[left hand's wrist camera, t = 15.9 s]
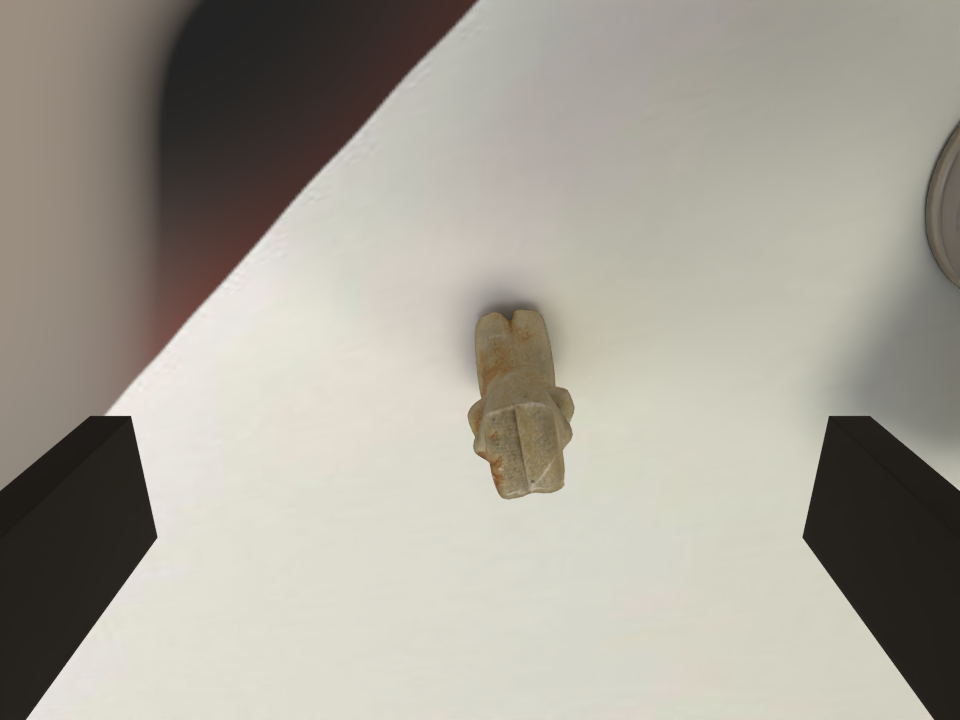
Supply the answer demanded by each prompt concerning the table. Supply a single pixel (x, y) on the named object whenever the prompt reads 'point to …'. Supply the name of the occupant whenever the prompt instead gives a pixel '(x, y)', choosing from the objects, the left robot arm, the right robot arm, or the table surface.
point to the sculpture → (519, 405)
